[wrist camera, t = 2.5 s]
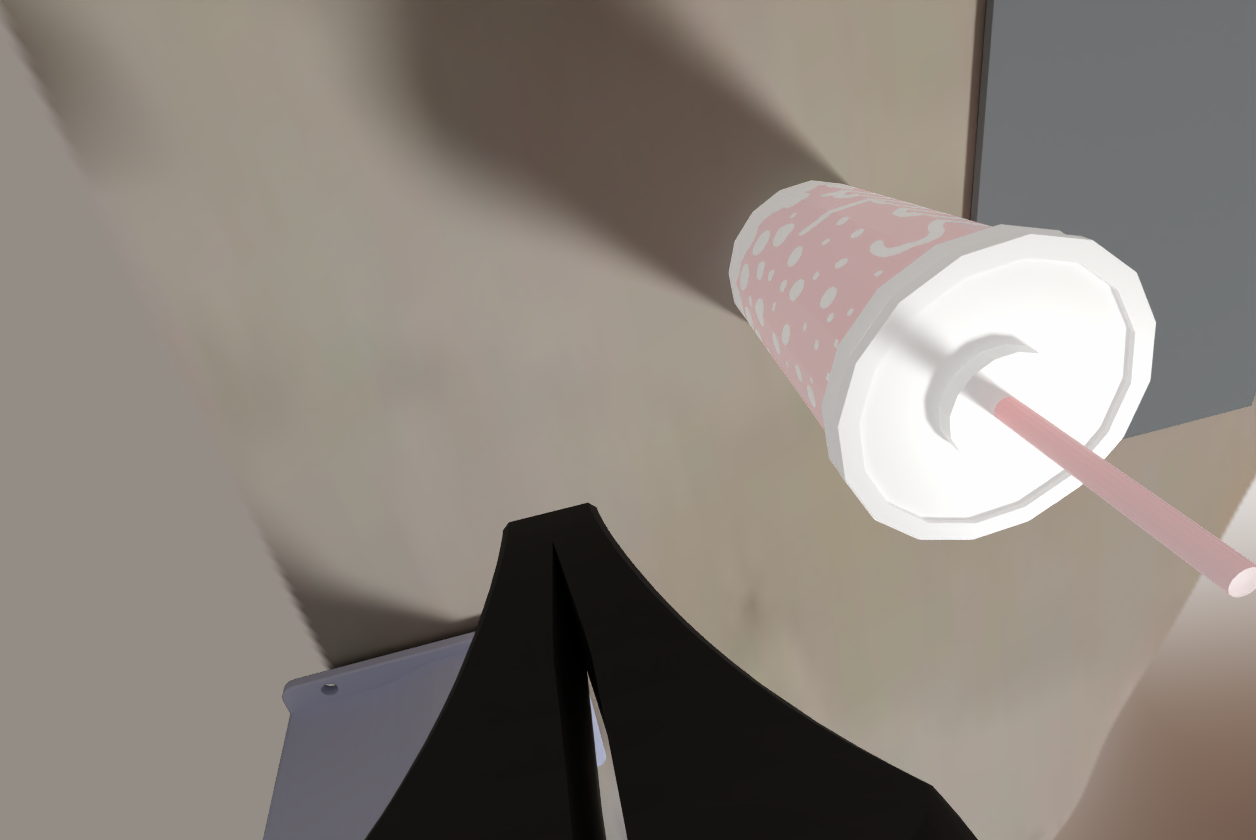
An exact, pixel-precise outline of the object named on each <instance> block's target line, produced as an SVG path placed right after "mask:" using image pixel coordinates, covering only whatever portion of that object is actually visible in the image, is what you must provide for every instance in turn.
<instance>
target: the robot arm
mask: <svg viewBox="0 0 1256 840" xmlns="http://www.w3.org/2000/svg"><path fill="white" fill-rule="evenodd" d="M587 672H588V675H589V678H590V681H591V684H592V687H593V691H594V694H595V697H596V700H597V703H598V706H599V710H600V713H601V716H602V719H603V722H604V725H605V728H606V732H607V735H608V740H609V745H610V750H611V755H612V760H613V765H614V771H615V776H616V781H617V786H618V791H619V797H620V802H621V807H622V812H623V817H624V823H625V828H626V834H627V839H628V840H978V839H977V838H976V837H975V835H974V834H973V833H972V832H971V830H970V829H969V828H968V827H967V825H966V824H965V823H964V822H963V820H962V819H961V818H960V817H959V815H958V814H957V813H956V812H955V811H954V810H953V809H952V807H951V806H950V805H949V804H948V803H947V802H946V800H945V799H944V798H943V797H942V796H941V795H940V794H939V793H938V792H937V790H936V789H935V788H934V787H933V786H932V785H930V784H928V783H926V782H924V781H922V780H920V779H918V778H916V777H914V776H912V775H910V774H908V773H906V772H904V771H902V770H900V769H898V768H896V767H894V766H892V765H891V764H889V763H887V762H885V761H883V760H881V759H880V758H878V757H876V756H874V755H872V754H870V753H869V752H867V751H865V750H863V749H861V748H860V747H858V746H856V745H854V744H853V743H851V742H849V741H848V740H846V739H844V738H843V737H841V736H839V735H838V734H836V733H834V732H833V731H831V730H829V729H828V728H826V727H824V726H823V725H821V724H819V723H818V722H816V721H815V720H813V719H812V718H810V717H809V716H807V715H806V714H804V713H803V712H801V711H800V710H798V709H797V708H795V707H794V706H792V705H791V704H790V703H788V702H787V701H785V700H784V699H782V698H781V697H779V696H778V695H776V694H775V693H773V692H772V691H770V690H769V689H767V688H766V687H765V686H763V685H762V684H760V683H759V682H758V681H756V680H755V679H754V678H752V677H751V676H750V675H749V674H747V673H746V672H745V671H743V670H742V669H741V668H740V667H738V666H737V665H736V664H734V663H733V662H732V661H731V660H729V659H728V658H727V657H726V656H725V655H724V654H722V653H721V652H720V651H719V650H718V649H716V648H715V647H714V646H713V645H712V644H710V643H709V642H708V641H707V640H706V639H705V638H704V637H703V636H702V635H700V634H699V633H698V632H697V631H696V630H695V629H694V628H693V627H692V626H691V625H690V624H689V623H688V622H686V621H685V620H684V619H683V618H682V617H681V616H680V615H679V614H678V613H677V612H676V611H675V610H674V609H673V608H672V607H671V606H670V605H669V604H668V603H667V601H666V600H665V599H664V598H663V597H662V596H661V595H660V594H659V593H658V592H657V591H656V590H655V589H654V587H653V586H652V585H651V584H650V583H649V582H648V581H647V579H646V578H645V577H644V576H643V575H642V574H641V572H640V571H639V570H638V569H637V568H636V567H635V565H634V564H633V563H632V562H631V560H630V559H629V558H628V557H627V555H626V554H625V553H624V551H623V550H622V549H621V547H620V546H619V545H618V543H617V542H616V541H615V539H614V538H613V536H612V535H611V533H610V532H609V530H608V529H607V527H606V525H605V524H604V522H603V520H602V518H601V516H600V515H599V512H598V510H597V508H596V507H595V506H593V505H591V504H589V503H585V504H581V505H577V506H573V507H569V508H565V509H561V510H557V511H553V512H549V513H545V514H541V515H537V516H533V517H529V518H525V519H521V520H517V521H513V522H509V523H508V524H507V526H506V527H505V529H504V530H503V536H502V542H501V547H500V552H499V557H498V561H497V565H496V569H495V572H494V576H493V580H492V583H491V587H490V590H489V593H488V596H487V599H486V602H485V605H484V608H483V611H482V614H481V617H480V620H479V623H478V626H477V629H476V631H475V632H471V633H467V634H464V635H460V636H456V637H452V638H449V639H445V640H441V641H437V642H433V643H430V644H426V645H422V646H418V647H415V648H411V649H407V650H403V651H399V652H396V653H392V654H388V655H384V656H381V657H377V658H373V659H369V660H365V661H362V662H358V663H354V664H350V665H346V666H343V667H339V668H335V669H331V670H328V671H324V672H320V673H316V674H312V675H309V676H305V677H302V678H297V679H294V680H292V681H290V682H288V683H287V684H286V685H285V688H284V691H283V695H282V698H283V701H284V703H285V705H286V707H287V708H288V710H289V712H290V713H291V714H290V718H289V723H288V728H287V732H286V737H285V741H284V746H283V750H282V755H281V759H280V764H279V768H278V773H277V777H276V782H275V787H274V791H273V796H272V800H271V805H270V809H269V814H268V818H267V823H266V827H265V832H264V837H263V840H606V835H605V828H604V821H603V815H602V807H601V798H600V788H599V779H598V769H597V767H598V766H600V765H601V764H602V763H604V761H605V759H606V754H605V749H604V745H603V742H602V738H601V734H600V730H599V727H598V723H597V719H596V715H595V712H594V708H593V704H592V700H591V697H590V693H589V685H588V676H587ZM326 684H334V685H335V686H327V685H326Z"/></svg>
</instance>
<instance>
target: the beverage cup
mask: <svg viewBox="0 0 1256 840" xmlns="http://www.w3.org/2000/svg"><path fill="white" fill-rule="evenodd" d="M729 278H730V283H731V288H732V293H733V298H734V303H735V304H736V306H737V307H738V308H739V310H740V311H741V313H742V314H743V315H744V317H745V318H746V320H747V321H748V323H749V324H750V325H751V327H752V328H753V330H754V331H755V332H756V334H757V335H758V337H759V338H760V339H761V341H762V342H763V344H764V345H765V347H766V348H767V349H768V351H769V352H770V354H771V355H772V356H773V358H774V359H775V361H776V362H777V364H778V365H779V366H780V368H781V369H782V371H783V372H784V373H785V375H786V376H787V378H788V379H789V381H790V382H791V383H792V385H793V386H794V388H795V389H796V390H797V392H798V393H799V395H800V396H801V397H802V399H803V400H804V402H805V403H806V405H807V406H808V407H809V409H810V410H811V412H812V413H813V414H814V416H815V417H816V419H817V420H818V422H819V423H820V424H821V426H822V427H823V429H824V430H825V434H826V441H827V448H828V454H829V459H830V460H831V462H832V463H833V464H834V466H835V467H836V468H837V470H838V471H839V474H840V475H841V476H842V478H843V479H844V480H845V482H846V483H847V484H848V486H849V487H850V488H851V490H852V491H853V492H854V494H855V495H856V496H857V498H858V499H859V500H860V502H861V503H862V504H863V506H864V507H865V508H866V510H867V511H868V512H869V513H870V515H871V516H872V517H873V518H874V520H876V521H878V522H881V523H883V524H885V525H887V526H890V527H892V528H894V529H896V530H899V531H901V532H903V533H906V534H908V535H910V536H912V537H915V538H917V539H919V540H973V539H976V538H979V537H982V536H985V535H988V534H991V533H994V532H997V531H1000V530H1003V529H1006V528H1009V527H1012V526H1015V525H1018V524H1021V523H1024V522H1027V521H1029V520H1031V519H1032V518H1034V517H1035V516H1037V515H1038V514H1040V513H1041V512H1043V511H1044V510H1046V509H1047V508H1048V507H1050V506H1051V505H1053V504H1054V503H1056V502H1057V501H1059V500H1060V499H1062V498H1063V497H1065V496H1066V495H1068V494H1069V493H1071V492H1072V491H1074V490H1075V489H1077V488H1078V487H1080V486H1081V485H1082V484H1084V485H1085V486H1087V487H1088V488H1089V489H1091V490H1092V491H1093V492H1095V493H1096V494H1097V495H1098V496H1100V497H1101V498H1102V499H1104V500H1105V501H1106V502H1108V503H1109V504H1110V505H1112V506H1113V507H1114V508H1116V509H1117V510H1118V511H1120V512H1121V513H1122V514H1124V515H1125V516H1126V517H1128V518H1129V519H1130V520H1132V521H1133V522H1134V523H1135V524H1137V525H1138V526H1139V527H1141V528H1142V529H1143V530H1145V531H1146V532H1147V533H1149V534H1150V535H1151V536H1153V537H1154V538H1155V539H1157V540H1158V541H1159V542H1161V543H1162V544H1163V545H1165V546H1166V547H1167V548H1168V549H1170V550H1171V551H1172V552H1174V553H1175V554H1176V555H1178V556H1179V557H1180V558H1182V559H1183V560H1184V561H1186V562H1187V563H1188V564H1190V565H1191V566H1192V567H1194V568H1195V569H1196V570H1198V571H1199V572H1200V573H1202V574H1203V575H1204V576H1206V577H1207V578H1208V579H1209V580H1211V581H1212V582H1213V583H1215V584H1216V585H1217V586H1219V587H1220V588H1221V589H1223V590H1224V591H1226V592H1227V593H1228V594H1229V595H1231V596H1233V597H1242V596H1244V595H1247V594H1249V593H1250V592H1252V591H1254V589H1256V564H1254V563H1253V562H1251V561H1250V560H1248V559H1247V558H1246V557H1244V556H1243V555H1241V554H1240V553H1238V552H1237V551H1235V550H1234V549H1233V548H1231V547H1230V546H1228V545H1227V544H1225V543H1224V542H1222V541H1221V540H1220V539H1218V538H1217V537H1215V536H1214V535H1212V534H1211V533H1209V532H1208V531H1207V530H1205V529H1204V528H1202V527H1201V526H1199V525H1198V524H1197V523H1195V522H1194V521H1192V520H1191V519H1189V518H1188V517H1186V516H1185V515H1184V514H1182V513H1181V512H1179V511H1178V510H1176V509H1175V508H1173V507H1172V506H1171V505H1169V504H1168V503H1166V502H1165V501H1163V500H1162V499H1160V498H1159V497H1158V496H1156V495H1155V494H1153V493H1152V492H1150V491H1149V490H1147V489H1146V488H1145V487H1143V486H1142V485H1140V484H1139V483H1137V482H1136V481H1135V480H1133V479H1132V478H1130V477H1129V476H1127V475H1126V474H1124V473H1123V472H1122V471H1120V470H1119V469H1117V468H1116V467H1114V466H1113V465H1111V464H1110V463H1109V462H1107V461H1106V460H1104V459H1105V458H1106V456H1107V455H1108V454H1109V453H1110V452H1111V451H1112V450H1113V448H1114V447H1115V446H1116V445H1117V444H1118V443H1119V442H1120V441H1121V439H1122V438H1123V437H1124V435H1125V433H1126V431H1127V429H1128V427H1129V424H1130V422H1131V420H1132V418H1133V416H1134V414H1135V412H1136V410H1137V408H1138V405H1139V403H1140V401H1141V399H1142V397H1143V395H1144V393H1145V391H1146V389H1147V386H1148V384H1149V382H1150V379H1151V369H1152V358H1153V348H1154V338H1155V327H1156V321H1155V319H1154V316H1153V313H1152V311H1151V308H1150V306H1149V303H1148V300H1147V298H1146V295H1145V293H1144V290H1143V287H1142V285H1141V282H1140V280H1139V277H1138V274H1137V272H1135V271H1134V270H1133V269H1131V268H1130V267H1129V266H1127V265H1126V264H1124V263H1123V262H1122V261H1120V260H1119V259H1118V258H1116V257H1115V256H1114V255H1112V254H1111V253H1110V252H1108V251H1107V250H1106V249H1104V248H1103V247H1101V246H1100V245H1099V244H1097V243H1096V242H1095V241H1093V240H1091V239H1088V238H1085V237H1082V236H1076V235H1066V234H1064V233H1063V232H1061V231H1060V230H1051V229H1042V228H1032V227H1023V226H1013V225H1004V224H1000V225H996V226H993V227H992V226H988V225H985V224H981V223H978V222H974V221H971V220H967V219H964V218H960V217H957V216H953V215H950V214H946V213H943V212H939V211H936V210H932V209H929V208H925V207H922V206H918V205H915V204H911V203H908V202H904V201H901V200H897V199H894V198H890V197H887V196H883V195H880V194H876V193H873V192H869V191H866V190H862V189H858V188H855V187H851V186H848V185H844V184H840V183H831V182H822V181H813V180H811V181H808V182H804V183H801V184H798V185H795V186H792V187H788V188H785V189H782V190H779V191H778V192H777V193H776V194H774V195H773V196H772V197H771V198H769V199H768V200H767V201H766V202H764V203H763V204H762V205H761V206H759V207H758V208H757V209H756V210H754V211H753V212H752V214H751V215H750V217H749V219H748V220H747V222H746V224H745V225H744V227H743V229H742V230H741V232H740V233H739V235H738V237H737V238H736V240H735V242H734V248H733V253H732V258H731V263H730V268H729Z"/></svg>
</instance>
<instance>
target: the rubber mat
mask: <svg viewBox="0 0 1256 840" xmlns="http://www.w3.org/2000/svg"><path fill="white" fill-rule="evenodd" d="M971 221H974V222H978V223H981V224H985V225H988V226H992V227H993V226H996V225H1000V224H1004V225H1013V226H1023V227H1032V228H1042V229H1051V230H1060V231H1061V232H1063V233H1064V234H1066V235H1076V236H1082V237H1085V238H1088V239H1091V240H1093V241H1095V242H1096V243H1097V244H1099V245H1100V246H1101V247H1103V248H1104V249H1106V250H1107V251H1108V252H1110V253H1111V254H1112V255H1114V256H1115V257H1116V258H1118V259H1119V260H1120V261H1122V262H1123V263H1124V264H1126V265H1127V266H1129V267H1130V268H1131V269H1133V270H1134V271H1135V272H1137V274H1138V277H1139V280H1140V282H1141V285H1142V287H1143V290H1144V293H1145V295H1146V298H1147V300H1148V303H1149V306H1150V308H1151V311H1152V313H1153V316H1154V319H1155V321H1156V327H1155V338H1154V348H1153V358H1152V369H1151V379H1150V382H1149V384H1148V386H1147V389H1146V391H1145V393H1144V395H1143V397H1142V399H1141V401H1140V403H1139V405H1138V408H1137V410H1136V412H1135V414H1134V416H1133V418H1132V420H1131V422H1130V424H1129V427H1128V429H1127V431H1126V433H1125V435H1124V437H1123V438H1122V439H1125V438H1129V437H1133V436H1137V435H1141V434H1144V433H1148V432H1152V431H1156V430H1160V429H1163V428H1167V427H1171V426H1175V425H1179V424H1183V423H1186V422H1190V421H1194V420H1198V419H1202V418H1205V417H1209V416H1213V415H1217V414H1221V413H1225V412H1228V411H1232V410H1236V409H1240V408H1244V407H1248V406H1251V405H1252V402H1253V399H1254V396H1255V393H1256V0H987V5H986V19H985V32H984V46H983V59H982V73H981V86H980V100H979V113H978V127H977V140H976V153H975V167H974V180H973V194H972V207H971Z"/></svg>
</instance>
